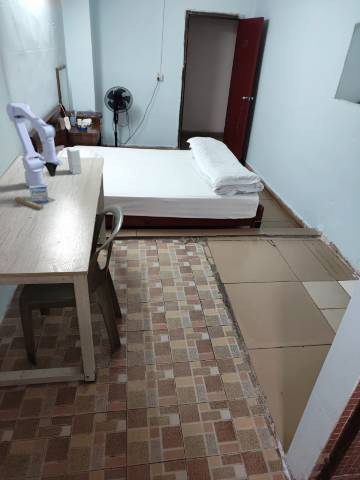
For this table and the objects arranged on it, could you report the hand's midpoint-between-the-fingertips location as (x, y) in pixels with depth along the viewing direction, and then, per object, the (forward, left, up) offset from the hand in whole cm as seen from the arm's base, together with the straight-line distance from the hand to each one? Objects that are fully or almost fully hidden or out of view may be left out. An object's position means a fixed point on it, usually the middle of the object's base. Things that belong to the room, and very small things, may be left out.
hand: (52, 176), depth 174 cm
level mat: (0, -11, -10) cm, 15 cm away
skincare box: (-17, +33, -10) cm, 39 cm away
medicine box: (+1, -11, -10) cm, 15 cm away
